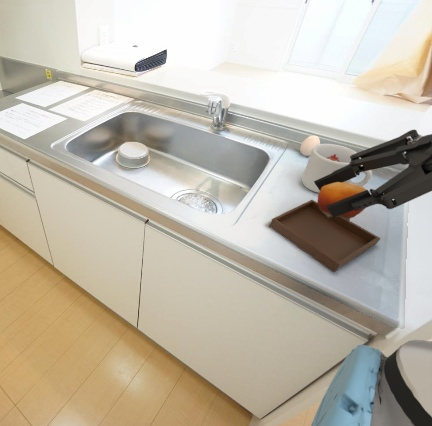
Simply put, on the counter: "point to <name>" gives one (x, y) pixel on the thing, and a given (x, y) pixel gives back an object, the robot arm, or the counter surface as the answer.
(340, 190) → the fruit
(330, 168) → the cup
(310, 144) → the egg
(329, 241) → the tray
